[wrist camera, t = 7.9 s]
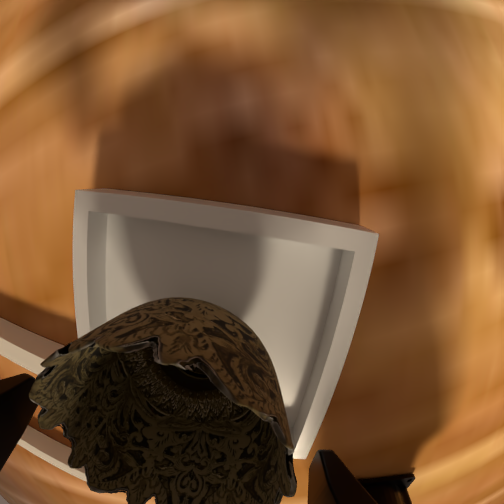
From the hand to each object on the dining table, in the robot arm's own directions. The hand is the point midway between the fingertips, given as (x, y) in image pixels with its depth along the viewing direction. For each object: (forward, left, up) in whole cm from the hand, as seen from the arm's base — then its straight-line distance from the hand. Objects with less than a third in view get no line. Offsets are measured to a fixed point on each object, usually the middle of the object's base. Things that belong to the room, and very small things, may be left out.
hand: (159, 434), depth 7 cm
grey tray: (0, 0, -7) cm, 7 cm away
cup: (0, 0, -7) cm, 7 cm away
